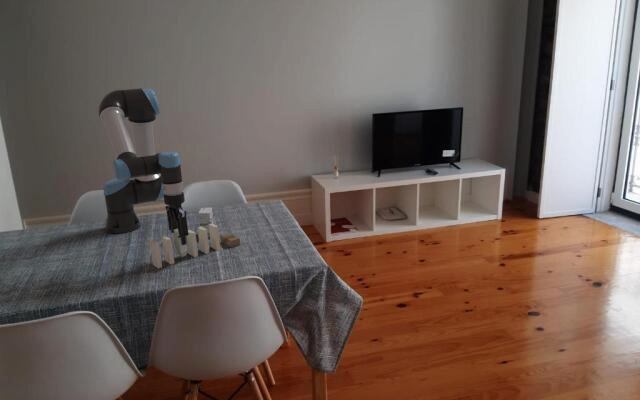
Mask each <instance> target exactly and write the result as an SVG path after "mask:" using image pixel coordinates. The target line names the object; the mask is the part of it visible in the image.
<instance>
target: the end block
mask: <svg viewBox="0 0 640 400" xmlns="http://www.w3.org/2000/svg"><path fill="white" fill-rule="evenodd" d="M219 238H220V242H221V244H224V245H226V246H228V247H229V248H232V249H233V248H235V247H239V246H241V240H240V238H239V237H237V236H235V235H234V234H231V233H229V232H228V233H224V234H221V235H220V234H219Z"/></svg>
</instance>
